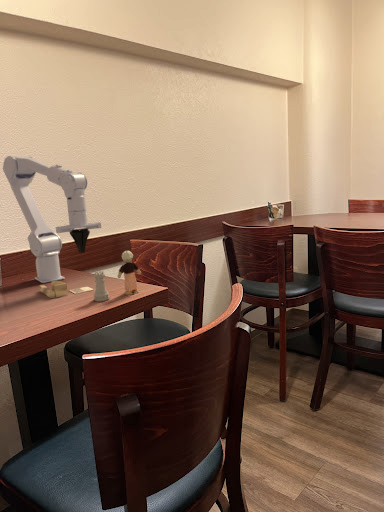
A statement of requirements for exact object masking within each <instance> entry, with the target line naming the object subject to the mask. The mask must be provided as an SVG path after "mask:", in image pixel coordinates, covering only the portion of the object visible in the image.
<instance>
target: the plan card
mask: <svg viewBox="0 0 384 512" xmlns="http://www.w3.org/2000/svg"><path fill="white" fill-rule="evenodd" d="M90 291H94V288H91V287H89V286H84V287H83V286H82V287H79V288H78V287H77V288H74V289H69V292H70V293H73V294H74V295H77V294H81V293H86V292H87V293H88V292H90Z"/></svg>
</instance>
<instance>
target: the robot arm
mask: <svg viewBox="0 0 384 512" xmlns="http://www.w3.org/2000/svg"><path fill="white" fill-rule="evenodd" d="M62 166H63V165H61V164H54V165H48V164H47V163H44V162H42V161H40V160H39V159H38V158H37V157H33V156H11V155H8V156H6V157H5V158H4V160H3V165H2V170H3V173H4V175H5V177H6V179H7V181H8V183H9V185H10V188H11V190H12V193H13V195H14V197H15V199H16V201H17V204H18V206H19V208H20V210H21V212H22V214H23V216H24V218H25V220H26V222H27V225H28V227H29V229H30V231H31V232H30V233H29V235H28V237H27V238H26V239H27V240H28V243H29V250H30V252H31V253H32V254H33V255H34V257H36V259H35V268H36V275H37V277H36V276H35V277H34V280H36V281H37V282H40V283H42V284H45V283H52V281H62V280H65V279H66V278H65V276H62V275H61V268H60V267H61V266H60V258H59V254H60V253H61V252H60V251H61V249H62V247H63V241H62V238H61V237H60V236H59V234H62V233H69V234H70V236H71V238H72V239H73V241H74V244H75V245H76V248H77V250H78V253H79V254H84V253H85V252H86V245H87V241H88V238H89V236H90V230H95V229H102V222H99V221H96V222H89V221H88V214H87V213H88V212H87V203H86V196H85V195H86V193H85V190H86V189H87V186H88V178H87V177H86V175H85V174H83V173H82V172H76V173H74V172H73V170H72V169H66V168H63V167H62ZM37 173H38V174H40V175H42V176H45V177H46V179H47V180H48V181H49V182H51V183H53V184H55V185H57V186H59V187H61V189H62V191H63V192H64V197H65V198H66V205H67V213H68V214H67V215H68V223H69V224H66V225H62V226H55V229H54V228H52V227H50V226H48V225H47V224H46V222H45V219H44V217H43V215H42V213H41V211H40V208H39V206H38V203H37V202H36V200H35V198H34V196H33V193H32V191H31V189H30V187H29V184H31V183H32V182H33V181H34V178H35V175H36V174H37Z"/></svg>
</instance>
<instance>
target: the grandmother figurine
mask: <svg viewBox="0 0 384 512" xmlns="http://www.w3.org/2000/svg"><path fill="white" fill-rule="evenodd" d="M121 259H122V260H123V262H124V264H122V265H121V266H120V268H119V269H118V275H117V278H118V279H121V278H122V275H123V277H124V290H125V291H124V293H123V294H124V295H129V296H130V295H133V294H135V293H137V294H138V293H139V290H138V283H137V278H136V274H135V271H136V273H137V275H142V271H141V270H140V268H139V266H138V265H137V264H136V263H135V262H133V259H134V254H133V253H132V252H131V251H130V250H125V251H123V252H122V254H121Z"/></svg>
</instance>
